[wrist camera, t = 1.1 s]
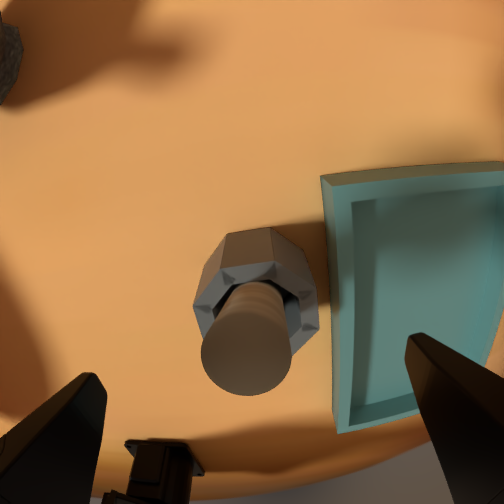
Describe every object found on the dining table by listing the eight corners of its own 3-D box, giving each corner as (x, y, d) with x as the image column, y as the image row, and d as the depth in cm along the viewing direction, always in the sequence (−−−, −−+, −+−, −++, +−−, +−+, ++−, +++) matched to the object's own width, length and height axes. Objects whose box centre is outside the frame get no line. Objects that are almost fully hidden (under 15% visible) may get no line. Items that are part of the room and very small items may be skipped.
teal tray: (461, 374, 22) (473, 393, 20) (331, 409, 23) (337, 434, 20) (498, 161, 15) (524, 170, 12) (320, 175, 16) (331, 186, 13)
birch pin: (282, 304, 18) (302, 443, 9) (240, 310, 18) (230, 450, 9) (269, 217, 16) (288, 323, 7) (222, 224, 16) (188, 336, 7)
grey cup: (308, 309, 19) (320, 353, 15) (219, 321, 19) (212, 367, 15) (300, 222, 16) (313, 254, 13) (197, 238, 17) (183, 274, 13)
